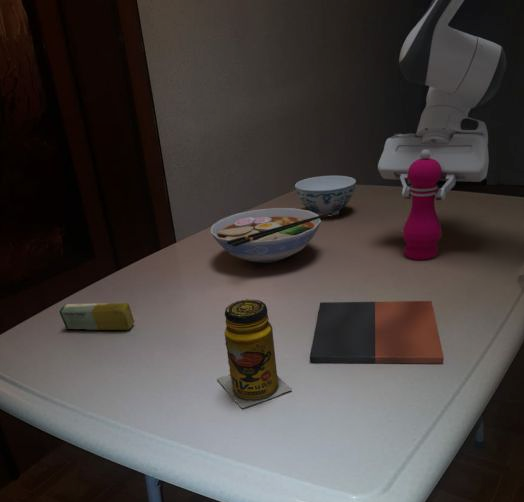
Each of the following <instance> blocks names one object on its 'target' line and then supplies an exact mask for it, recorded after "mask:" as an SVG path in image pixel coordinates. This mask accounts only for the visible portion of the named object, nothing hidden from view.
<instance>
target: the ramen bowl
mask: <svg viewBox="0 0 524 502" xmlns="http://www.w3.org/2000/svg"><path fill="white" fill-rule="evenodd" d="M331 214H333V213H328V215H331ZM328 215H327V214H324V215H320V216H319V215H317V214H315V213H313V211H311V210H307V209H301V208H295V207H271V208H270V207H269V208H261V209H253V210H248V211H243V212H238V213H234V214H232V215H228V216H226V217H224V218H221V219H219V220H217V221H216V222H215V223H213V224H212V225H211V227H210V234H211V235H212V237H213V239H214V240H215V241H216V242H217V243H218V244H219V246H220V247H222V249H224V250H225V251H226V252H227V253H229V254H230V255H231V256H233V257H235V258H238V259H240V260H244V261H249V262H253V263H257V264H273V263H277V262H280V261H283V260H284V259H286V258H288V257H291V256H293V255H296V254H297V253H299V252H300V251H302V250H303V249H304V248H305V247H306V246H307V245H308V244H309V243H310V241H312V239H313V238H314V237H315V235H316V233H317V231H318V230H319V227H320V225H321V223H322V220H321V218H326V217H325V216H328Z"/></svg>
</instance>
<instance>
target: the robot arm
mask: <svg viewBox="0 0 524 502" xmlns="http://www.w3.org/2000/svg"><path fill="white" fill-rule="evenodd" d="M464 2H465V0H432V1H431V3H430V4H429V6H428V7H427V9H426V10H425V12H424V13H423V14H422V16H421V18H420V19H419V20H418V22H417V23H416V25H415V26H414V27H413V28H412V29H411V30H410V32H409V33H408V35H407V36H406V38H405V40H404V42H403V44H402V47H401V49H400V52H399V57H398V66H399V68H400V71H401V73H402V75H403V76H404V78H405V80H406V81H407V82H408V83H412V84H417V85H420V86H427V87H428V90H427V94H426V98H425V103H426V104H425V107H424V109H423V111H422V112H421V115H420V119H419V122H418V126H417V128H416V132H415V133H395V134H394V135H392V136H389V137H388V138H387V139H386V141H385V143H384V146H383V151H382V153H381V155H380V158H379V160H378V163H377V171H378V172H379V173H378V174H380V176H381V177H382V179H384V180H400V182H401V185H402V191H401V197H402V199H403V200H404V199H405V200H412V195H411V194H410V191H411V189H410V187H411V186H408V185H409V184H411V182H410V181H409V179H408V170H409V167H410V166H411V164H412V163H413V162H415V161H416V160H418V159H421V156H420V154H421V152H422V151H423V150H429V151H430V157H429V158H431V159H434V160H436V161H437V162H438V163H439V164H440V166H441V178H440V179H439V181H438V182H440V181H441V182H445V183H444V184H443V185H442V186H441V187H438V188H437V190H436V194H435V201H442V202H443V201H445V200H446V196H447V194H448V193H449V192H450V191H451V190H452V189H453V188H454V187H455V186H456V182H469V183H470V182H473V183H480V182H482V181H483V180H485V179H486V178H487V176H488V170H489V162H490V157H489V156H490V155H489V147H488V146H489V134H488V128H487V125H486V123H485V122H484V121H483V120H479V119H477V118H472V117H469V113H470V111H471V110H472V109H476V108H478V107H480V106H481V105H483V104H485V103H487V102H488V101H490V100H491V99H492V98H493V97H494V96H495V94H496V93H497V92H498V90H499V89H500V87H501V84H502V82H503V78H504V75H505V72H506V68H507V58H506V52H505V49H504V48H503V46H502V45H499V44H497V43H496V42H493V41H491V40H488V39H485V38H482V37H480V36H475V35H474V34H469V33H467V32H464V31H461V30H458V29H455V28H454V27H451V26H449V24H450V22H451V21H452V19H453V17H454V16H455V14H456V13H457V11H458V10H459V9H460V7H461V6H462V4H463V3H464Z"/></svg>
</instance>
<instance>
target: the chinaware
mask: <svg viewBox="0 0 524 502" xmlns="http://www.w3.org/2000/svg"><path fill="white" fill-rule="evenodd" d="M356 184H357V180H356V179H355V178H354V177H350V176H347V175H321V176H313V177H308V178H305V179H302V180H299V181H297V182H296V183H295V185H294V188H295V190H296V194H297V197H298V199H299V200H300V202H301V203H302V205H303V206H305V208H307V209H308V211H311V212H313V213H315V214H317V215H319V216H320V215H324V214H327V215H328V213H333V214H331V215H334V214H337V213H338V212H339V211H340V212H341V210H342V209H343V208H344V207H345V206H346V205H347V204H348V202H350V201H351V199H352V197H353V195H354V192H355V189H356ZM337 215H338V214H337Z"/></svg>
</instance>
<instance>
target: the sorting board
mask: <svg viewBox="0 0 524 502" xmlns="http://www.w3.org/2000/svg"><path fill="white" fill-rule="evenodd" d="M316 316H317V317H316V321H315V328H314V332H313V337H312V343H311V348H310V354H309V363H311V364H312V363H313V364H316V363H317V364H329V363H330V364H444V357H445V356H444V352H443V348H442V344H441V339H440V333H439V330H438V329H439V328H438V324H437V320H436V316H435V310H434V306H433V301H432V300H412V301H411V300H410V301H409V300H406V301H405V300H403V301H402V300H401V301H400V300H399V301H395V300H394V301H332V302H331V301H329V302H325V301H324V302H322V301H321V302H319V307H318V312H317V315H316Z"/></svg>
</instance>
